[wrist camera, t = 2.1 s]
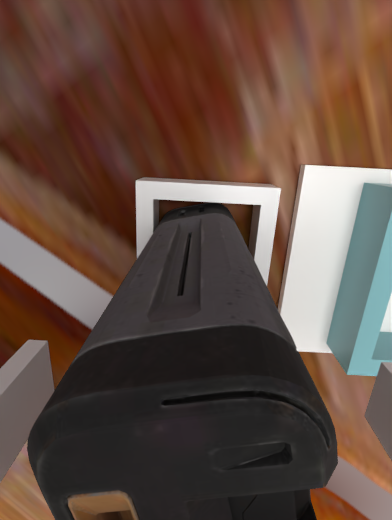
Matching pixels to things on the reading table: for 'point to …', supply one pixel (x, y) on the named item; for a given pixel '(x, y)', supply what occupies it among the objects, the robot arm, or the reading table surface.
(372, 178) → the dock
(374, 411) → the robot arm
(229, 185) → the white rectangular frame
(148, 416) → the electronic device
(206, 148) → the reading table surface
